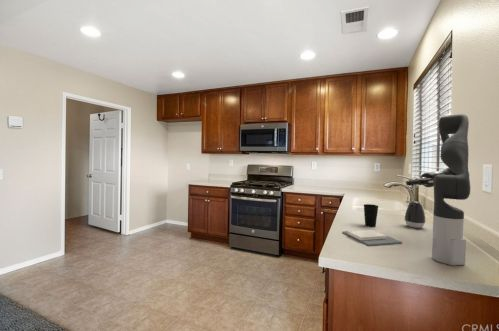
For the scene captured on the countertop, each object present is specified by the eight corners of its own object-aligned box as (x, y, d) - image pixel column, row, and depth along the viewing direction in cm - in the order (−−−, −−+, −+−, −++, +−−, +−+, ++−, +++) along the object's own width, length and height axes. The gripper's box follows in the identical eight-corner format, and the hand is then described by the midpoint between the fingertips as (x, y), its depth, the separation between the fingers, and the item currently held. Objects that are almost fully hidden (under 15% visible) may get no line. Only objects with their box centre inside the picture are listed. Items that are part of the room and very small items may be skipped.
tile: (386, 235, 121) (361, 237, 117) (386, 238, 121) (361, 240, 118) (372, 229, 130) (348, 231, 127) (372, 232, 130) (348, 234, 127)
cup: (362, 226, 146) (363, 205, 146) (363, 223, 153) (364, 203, 152) (377, 228, 142) (378, 207, 142) (377, 225, 149) (378, 205, 149)
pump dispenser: (400, 225, 149) (401, 200, 148) (411, 224, 153) (412, 199, 153) (417, 230, 139) (418, 203, 139) (429, 228, 144) (430, 201, 143)
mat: (402, 243, 117) (402, 241, 117) (368, 246, 113) (368, 244, 113) (372, 231, 136) (372, 229, 136) (342, 232, 132) (342, 231, 132)
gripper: (420, 172, 136) (395, 175, 131) (445, 171, 123) (418, 175, 118) (422, 185, 136) (397, 190, 131) (447, 186, 123) (420, 191, 118)
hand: (407, 183), depth 125 cm, fingers closed
